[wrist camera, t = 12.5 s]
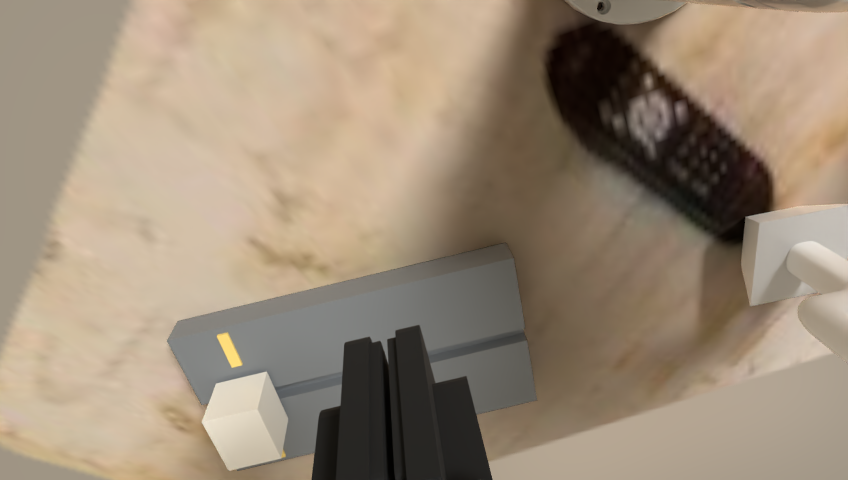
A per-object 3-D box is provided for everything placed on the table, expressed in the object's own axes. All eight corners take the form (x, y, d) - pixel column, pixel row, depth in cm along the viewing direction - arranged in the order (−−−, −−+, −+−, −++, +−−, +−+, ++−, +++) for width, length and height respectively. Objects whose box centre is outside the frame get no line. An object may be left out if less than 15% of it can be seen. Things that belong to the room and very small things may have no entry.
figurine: (819, 262, 45) (1011, 383, 32) (709, 285, 45) (854, 416, 32) (834, 182, 42) (1054, 279, 28) (714, 206, 42) (879, 315, 28)
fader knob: (269, 363, 42) (257, 409, 38) (289, 409, 44) (281, 458, 40) (219, 374, 42) (201, 422, 38) (242, 421, 44) (228, 471, 40)
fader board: (505, 242, 41) (514, 259, 39) (529, 380, 48) (537, 401, 45) (177, 321, 42) (166, 342, 39) (243, 447, 48) (236, 472, 46)
